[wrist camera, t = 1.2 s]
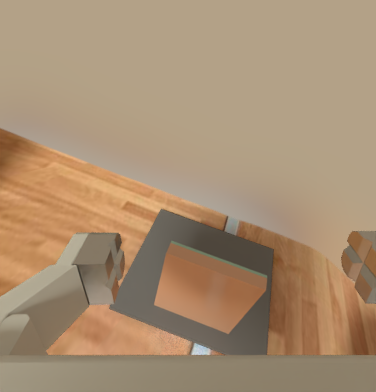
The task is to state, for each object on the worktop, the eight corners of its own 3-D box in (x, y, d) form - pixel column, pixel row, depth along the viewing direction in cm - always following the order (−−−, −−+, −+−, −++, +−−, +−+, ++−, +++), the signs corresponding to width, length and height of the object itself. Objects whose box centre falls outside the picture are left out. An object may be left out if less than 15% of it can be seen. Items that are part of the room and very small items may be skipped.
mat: (109, 308, 33) (109, 306, 33) (160, 211, 46) (161, 209, 46) (263, 370, 32) (265, 368, 31) (272, 251, 44) (273, 249, 44)
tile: (153, 305, 34) (166, 253, 26) (158, 293, 35) (171, 240, 27) (228, 334, 33) (266, 290, 25) (230, 321, 34) (267, 275, 26)
